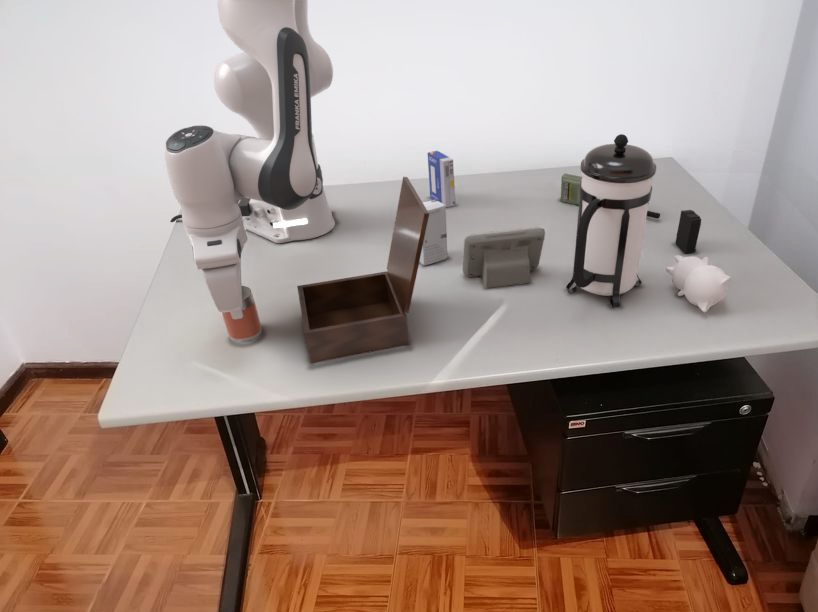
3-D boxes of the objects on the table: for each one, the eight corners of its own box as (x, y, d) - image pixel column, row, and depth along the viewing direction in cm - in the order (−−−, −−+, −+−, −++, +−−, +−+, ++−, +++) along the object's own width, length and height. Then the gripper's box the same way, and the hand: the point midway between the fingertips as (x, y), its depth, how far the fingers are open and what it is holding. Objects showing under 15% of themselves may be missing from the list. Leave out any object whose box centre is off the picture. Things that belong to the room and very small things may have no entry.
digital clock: (540, 265, 132) (543, 218, 126) (544, 287, 125) (547, 238, 119) (463, 266, 133) (461, 219, 126) (462, 289, 126) (461, 240, 119)
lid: (424, 213, 96) (429, 213, 97) (403, 176, 109) (407, 177, 109) (404, 312, 105) (408, 313, 106) (386, 268, 118) (390, 268, 118)
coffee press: (553, 272, 130) (562, 123, 112) (630, 267, 131) (651, 119, 113) (570, 318, 116) (584, 157, 98) (656, 313, 117) (686, 152, 99)
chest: (311, 367, 106) (304, 333, 102) (303, 317, 119) (297, 285, 115) (409, 348, 110) (406, 315, 106) (392, 302, 122) (388, 270, 118)
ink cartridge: (695, 253, 135) (702, 218, 130) (685, 254, 135) (692, 219, 130) (684, 242, 139) (691, 208, 134) (675, 243, 139) (681, 209, 134)
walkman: (430, 197, 162) (427, 151, 155) (439, 195, 163) (437, 149, 156) (445, 208, 157) (443, 160, 150) (455, 205, 158) (453, 158, 151)
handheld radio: (564, 197, 160) (661, 218, 149) (559, 202, 158) (656, 224, 147) (566, 171, 156) (665, 191, 145) (560, 176, 154) (660, 197, 143)
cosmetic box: (424, 266, 133) (420, 213, 126) (413, 258, 136) (409, 205, 129) (449, 258, 136) (446, 205, 129) (438, 250, 139) (435, 198, 132)
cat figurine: (680, 240, 120) (720, 267, 110) (715, 259, 125) (756, 287, 116) (653, 279, 123) (689, 309, 113) (688, 296, 128) (726, 326, 119)
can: (223, 340, 113) (209, 297, 108) (246, 324, 117) (234, 282, 112) (247, 349, 111) (234, 305, 106) (269, 332, 115) (258, 289, 110)
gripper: (198, 211, 109) (219, 280, 118) (193, 265, 93) (218, 341, 102) (236, 205, 111) (254, 275, 119) (237, 258, 95) (258, 334, 103)
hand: (237, 306), depth 110 cm, fingers closed on can, 5 cm apart
